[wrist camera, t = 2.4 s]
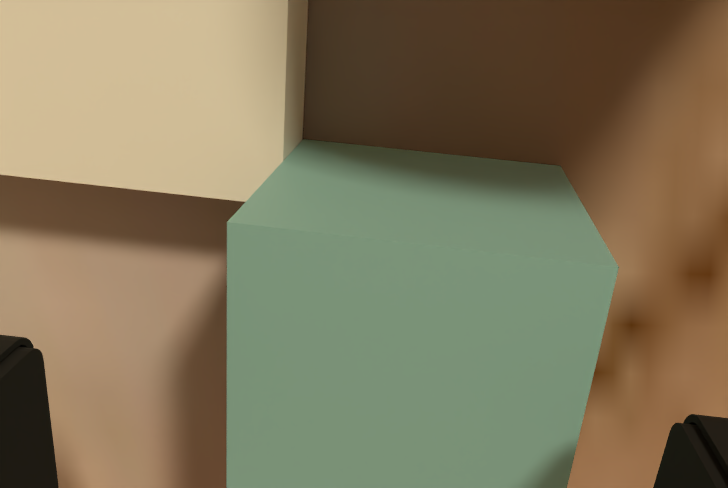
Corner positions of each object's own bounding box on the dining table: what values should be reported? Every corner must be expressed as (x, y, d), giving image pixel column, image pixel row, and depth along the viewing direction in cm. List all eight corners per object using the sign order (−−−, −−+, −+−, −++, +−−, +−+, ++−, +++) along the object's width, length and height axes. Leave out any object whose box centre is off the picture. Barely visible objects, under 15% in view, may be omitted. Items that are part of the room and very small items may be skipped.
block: (560, 165, 16) (618, 267, 10) (518, 385, 18) (547, 568, 12) (304, 138, 16) (227, 222, 11) (294, 356, 18) (226, 519, 13)
